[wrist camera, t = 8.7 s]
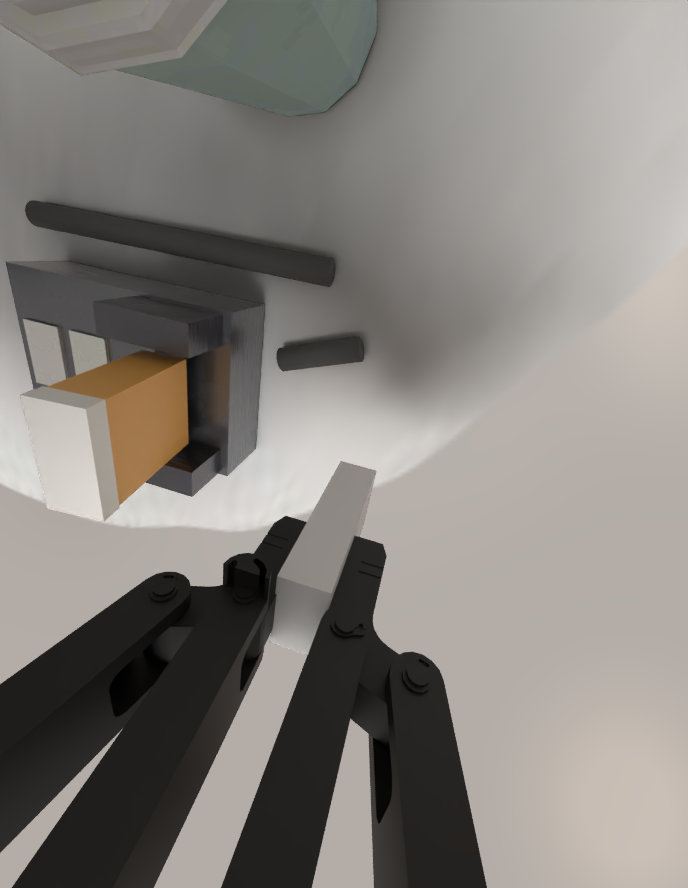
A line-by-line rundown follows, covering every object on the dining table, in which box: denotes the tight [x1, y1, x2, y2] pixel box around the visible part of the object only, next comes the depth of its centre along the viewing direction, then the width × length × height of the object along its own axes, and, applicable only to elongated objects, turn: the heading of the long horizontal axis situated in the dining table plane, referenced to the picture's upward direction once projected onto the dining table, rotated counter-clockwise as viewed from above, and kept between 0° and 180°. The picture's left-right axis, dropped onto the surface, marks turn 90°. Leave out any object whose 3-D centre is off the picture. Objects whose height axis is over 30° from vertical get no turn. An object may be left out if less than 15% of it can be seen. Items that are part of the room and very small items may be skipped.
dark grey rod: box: [25, 200, 335, 287], centre depth 23 cm, size 19×1×1 cm, turn 80°
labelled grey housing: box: [6, 261, 265, 497], centre depth 24 cm, size 14×10×7 cm
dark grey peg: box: [277, 337, 364, 371], centre depth 23 cm, size 5×1×1 cm, turn 100°
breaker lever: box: [20, 350, 189, 522], centre depth 19 cm, size 2×6×8 cm, turn 170°
